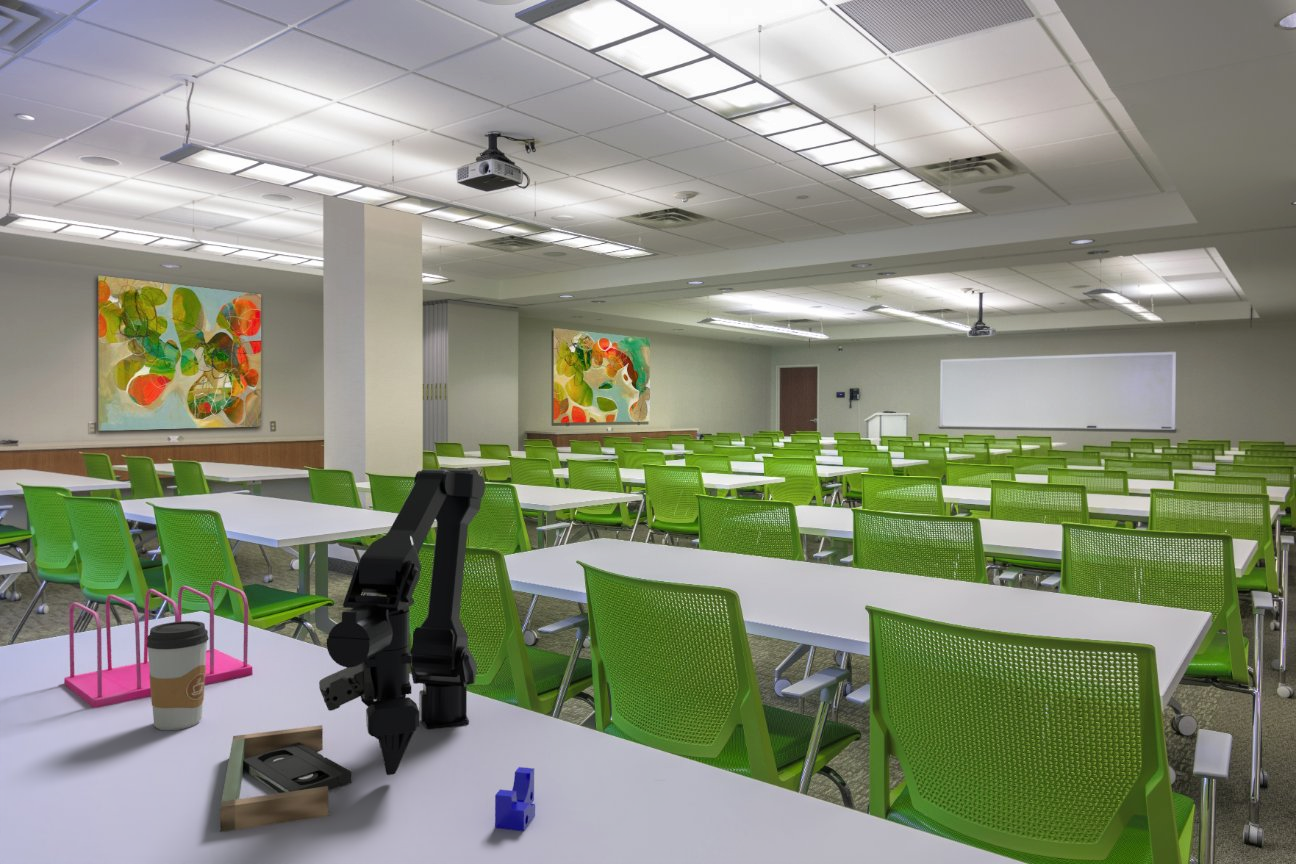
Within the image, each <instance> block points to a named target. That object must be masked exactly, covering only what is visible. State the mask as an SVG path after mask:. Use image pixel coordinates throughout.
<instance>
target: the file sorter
mask: <svg viewBox="0 0 1296 864" xmlns="http://www.w3.org/2000/svg"><path fill="white" fill-rule="evenodd" d="M216 585H218V586H221V587H223V588H226V589H228V590H230V591H233V592H235V593H237V594H239V595H240V596H241V598H242V601H243V602H242V603H243V659H242V660H243V661H242V660H240V659H239V658H236V657H234V656H232V655H230V654H227V653H225V652H224V651H220V650H218V649H217V648H215V609H214V602H215V601H214V599H215V587H216ZM184 590H187V591H188V592H191V593H193V594H195V595H197V596H199V597H201V598H204V599H205V600H206V601H207V603H208V606H209V649H206V662H205V666H206V672H205V686H206V685H210V684H217V683H220V682H224V681H230V680H235V679H239V678H244V677H249V676H252V675H253V674H254V673H253V672H254V671H253V666H252V665H251V664H248V649H249V648H248V645H249V643H248V641H249V639H248V637H249V603H248V598H247V594H246V593H245V591H243V590H241V589H240V588H236V587H235V586H232V585H230V584H227V583H226V582H222V581H219V580H215V581H213V583H212V584H211V587H210V593H209V595H210V596H209V595H207V594H206V593H203V592H202V591H199V590H197V589H195V588H193V587H190V586H187V585H182V586H180V588H179V589H178V594H177V603H176V601H175V600H173V599H172V598H171V597H168V596H167V595H165V594H164V593H161V592H160V591H157V590H155V589H154V588H149V589H148V590H147V591H146V593H145V599H144V600H145V601H144V626H143V627H144V628H143V629H144V632H143V633H144V634H143V637H144V638H143V639H144V641H143V662H142V661H141V641H140V640H141V639H140V637H141V636H140V633H141V632H140V617H139V613H138V609H137V606H136V605H135V604H134V603H132V602H130V601H128V600H127V599H124V598H122V597H119V596H118V595H114V594H109V595H107V597H106V599H105V626H106V656H107V668H106V669H103V668H102V666H103V664H102V663H103V662H102V658H103V657H102V649H103V647H102V625H101V619H100V616H99V614H98V612H96V611H95V610H93V609H92V608H89V607H87V606H86V605H83V604H82V603H80V602H77V601H76V602H75V601H74V602H72V603H71V604H70V606H69V611H68V612H69V613H68V614H69V615H68V626H69V627H68V629H69V630H68V633H69V637H68V638H69V676H66V677H64V678H63V680H64V681H63V684H64V685H65V686H66V687H68V689H70V690H71V691H73V692H74V693H75V694H76V695H77V696H79V697H80V699H83V701H85V702H86V703H87V704H89V706H91V707H93V708H94V709H95V708H100V707H105V706H110V705H115V704H119V703H124V702H129V701H134V700H139V699H143V698H147V697H151V688H150V676H149V673H150V668H149V656H148V647H147V646H146V644H147V641H148V640H147V637H148V636H149V618H150V617H149V613H150V612H149V609H150V608H149V605H150V596H151V594H153V595H155V596H158V597H159V598H161V599H162V600H164V601H166V602H167V603H169V604H170V605H171V606H172V608H173V612H174V622H181V621H182V611H183V610H182V609H183V608H182V607H183V605H182V603H183V602H182V598H183V592H184ZM111 600H113V601H114V600H115V601H117V602H119V603H121V604H123V605H125V606H128V607H130V608H131V610H132V612H133V613H132V614H133V617H134V629H135V631H134V633H135V662H136V663H132V664H128V665H122V666H116V667H112V666H113V663H112V637H111V636H112V635H111V609H110V608H111V604H110V603H111ZM75 607H76V608H78V609H81V610H83V612H85V613H88V614H90V615H91V616H93V617H94V621H95V624H96V653H97V655H96V659H97V660H96V663H97V664H96V665H97V666H96V667H97V668H96V669H97V670H96V671H90V672H84V673H80V674H75V635H74V611H75Z"/></svg>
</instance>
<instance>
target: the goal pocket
mask: <svg viewBox="0 0 1296 864" xmlns="http://www.w3.org/2000/svg"><path fill="white" fill-rule="evenodd" d="M323 729H324V728H323V725H322V724H321V725H313V726H305V727H304V726H303V727H296V728H288V729H287V728H286V729H281V730H272V731H263V732H262V731H261V732H257V733H256V732H255V733H247V734H246V733H245V734H239V735H233V736H232V740H231V747H230V752H229V756H228V763H227V768H226V774H225V779H224V785H223V791H222V797H221V802H220V806H219V810H220V812H219V814H220V815H219V817H220V818H219V819H220V820H219V822H220V825H219V826H220V830H219V831H220V833H223V832H230V831H236V830H243V829H248V828H256V827H262V826H263V827H264V826H269V825H276V824H283V823H291V822H296V821H302V820H309V819H315V818H322V817H328V816H329V790H328V786H325V787H318V788H312V789H305V790H298V791H291V792H284V793H271V794H265V795H258V796H252V797H250V796H249V797H245V798H240V797H241V796H240V795H241V790H242V789H241V788H242V782H243V774H244V773H243V772H244V770H243V760H244V759H246V758H249V757H253V756H256V755H259V754H263V753H266V752H270V751H273V750H277V749H280V748H284V747H288V746H290V745H293V744H296V743H301V744H303V745H305V746H306V747H308V748H310V749H312V750H314V751H319V750H320V751H321V750H323V747H324V746H323V743H324V742H323V740H324V739H323V733H324V731H323Z"/></svg>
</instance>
